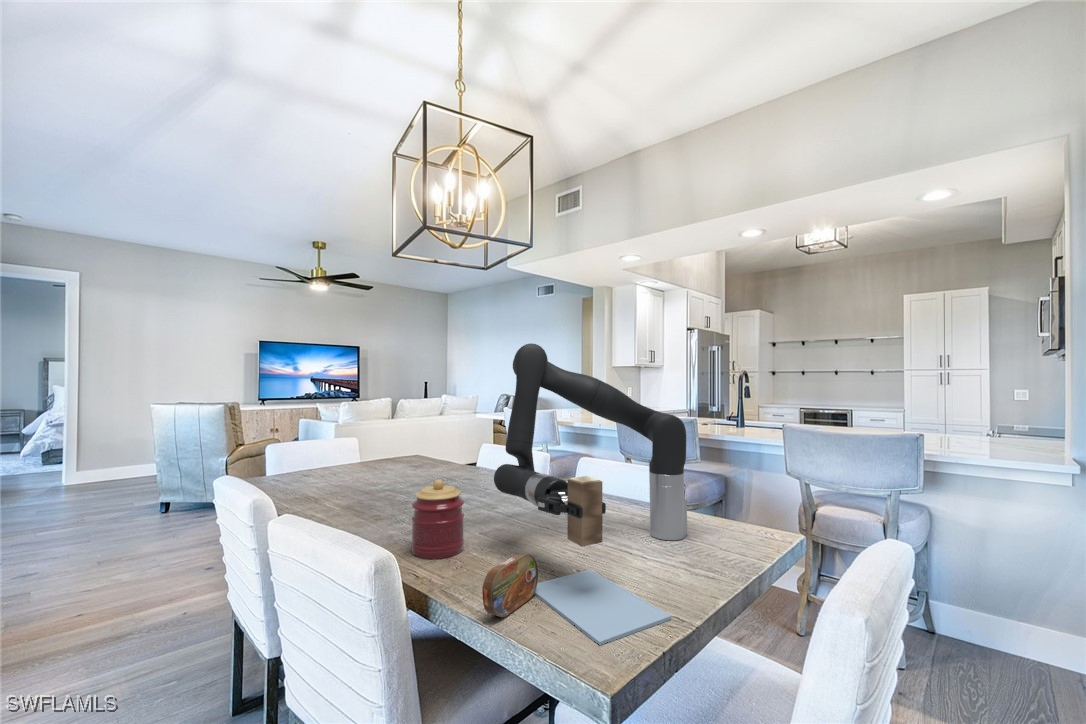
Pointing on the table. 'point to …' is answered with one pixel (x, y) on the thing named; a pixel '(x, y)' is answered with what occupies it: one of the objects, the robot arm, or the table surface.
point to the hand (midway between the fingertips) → (592, 510)
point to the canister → (437, 522)
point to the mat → (598, 606)
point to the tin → (510, 585)
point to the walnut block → (585, 510)
